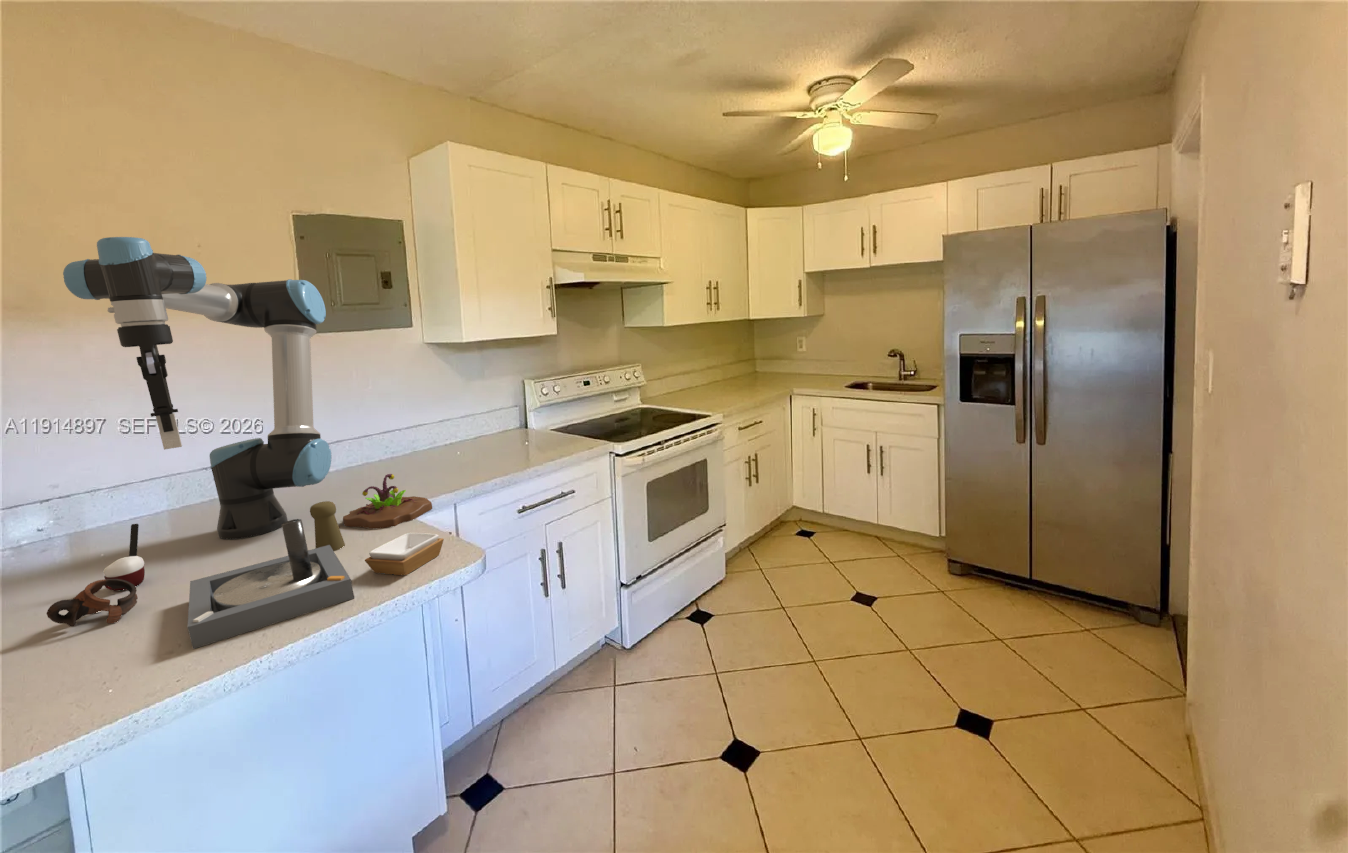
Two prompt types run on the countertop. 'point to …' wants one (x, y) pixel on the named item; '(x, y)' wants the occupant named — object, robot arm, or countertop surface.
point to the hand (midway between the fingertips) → (173, 447)
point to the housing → (264, 600)
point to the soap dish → (404, 553)
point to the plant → (387, 508)
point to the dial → (273, 573)
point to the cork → (326, 525)
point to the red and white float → (127, 564)
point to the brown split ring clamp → (94, 603)
